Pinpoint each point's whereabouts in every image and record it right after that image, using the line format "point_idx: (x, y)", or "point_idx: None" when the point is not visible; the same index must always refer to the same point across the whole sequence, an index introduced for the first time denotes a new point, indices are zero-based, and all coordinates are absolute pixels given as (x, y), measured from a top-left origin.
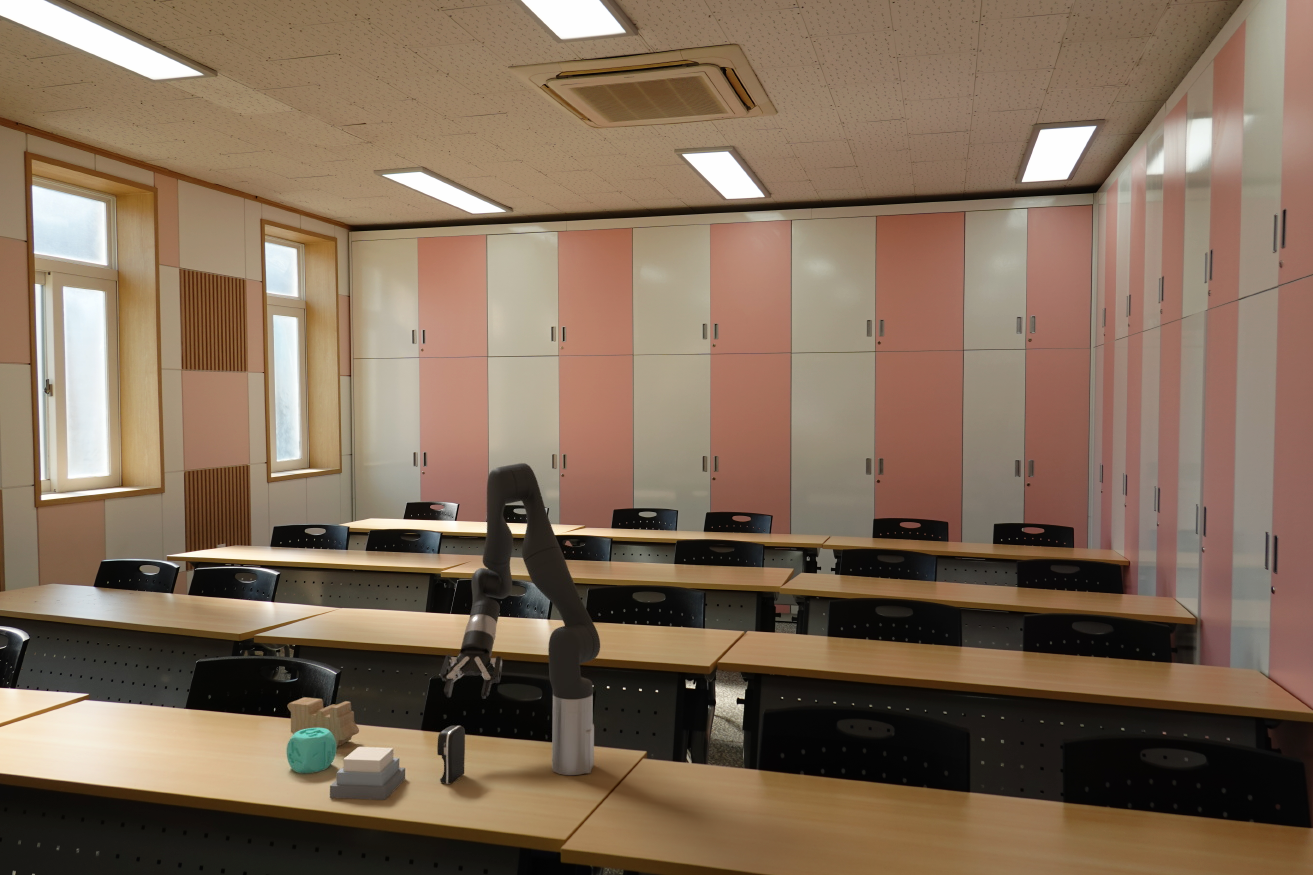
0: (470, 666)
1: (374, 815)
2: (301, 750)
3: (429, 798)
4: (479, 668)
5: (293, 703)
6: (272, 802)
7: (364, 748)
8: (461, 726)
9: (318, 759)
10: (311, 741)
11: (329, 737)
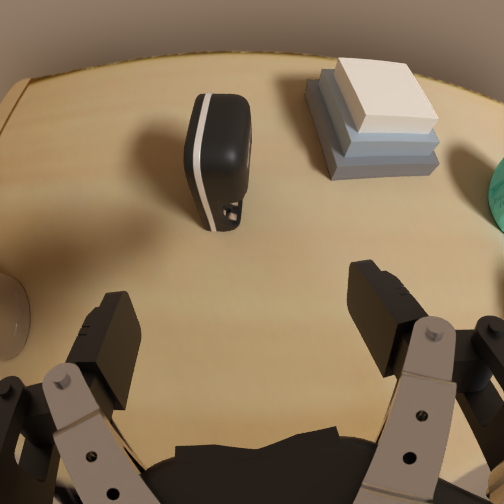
0: (272, 494)
1: (283, 56)
2: None
3: None
4: (131, 460)
5: None
6: (441, 85)
7: (420, 109)
8: (189, 146)
9: (500, 180)
10: None
11: None
